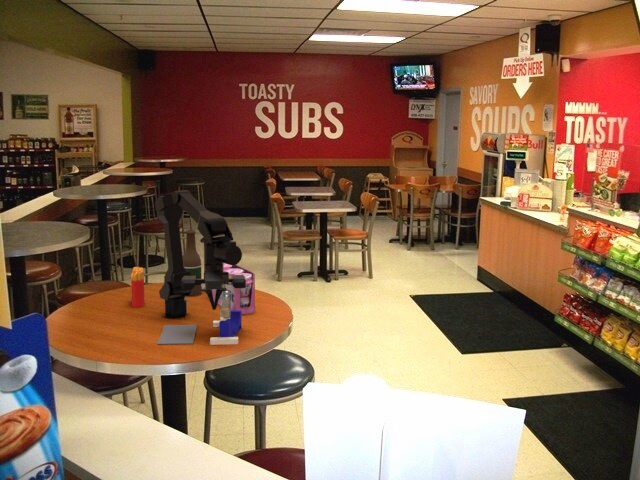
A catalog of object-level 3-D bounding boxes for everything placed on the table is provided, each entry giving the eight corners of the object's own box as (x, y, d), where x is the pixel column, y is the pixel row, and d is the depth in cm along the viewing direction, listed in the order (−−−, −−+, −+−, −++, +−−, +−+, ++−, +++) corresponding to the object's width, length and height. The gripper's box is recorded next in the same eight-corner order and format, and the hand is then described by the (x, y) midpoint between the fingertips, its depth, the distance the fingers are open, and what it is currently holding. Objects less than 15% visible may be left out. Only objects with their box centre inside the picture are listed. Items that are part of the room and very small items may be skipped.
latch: (220, 336, 179) (220, 307, 177) (222, 315, 197) (222, 289, 196) (229, 335, 179) (229, 307, 178) (230, 315, 198) (230, 289, 196)
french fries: (131, 301, 214) (130, 265, 211) (144, 300, 215) (142, 264, 213) (132, 309, 205) (131, 271, 203) (145, 308, 207) (144, 271, 204)
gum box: (257, 313, 204) (257, 274, 201) (236, 317, 200) (236, 277, 197) (228, 295, 224) (228, 260, 221) (208, 298, 220) (208, 262, 217)
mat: (157, 345, 174) (157, 343, 174) (164, 326, 189) (164, 325, 189) (192, 344, 175) (192, 343, 175) (197, 325, 191) (197, 324, 190)
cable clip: (227, 327, 190) (227, 309, 189) (241, 329, 189) (241, 310, 188) (214, 341, 178) (214, 321, 177) (229, 342, 178) (229, 323, 177)
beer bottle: (177, 295, 222) (176, 231, 217) (185, 290, 229) (184, 227, 225) (197, 297, 221) (196, 232, 216) (205, 291, 228) (204, 228, 224)
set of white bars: (210, 344, 175) (210, 339, 175) (214, 318, 198) (214, 314, 198) (238, 344, 176) (238, 339, 176) (239, 318, 199) (239, 313, 199)
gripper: (179, 265, 171) (180, 318, 174) (246, 265, 174) (246, 317, 177) (182, 257, 181) (183, 307, 184) (245, 256, 184) (244, 305, 187)
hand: (214, 309), depth 183 cm, fingers closed
